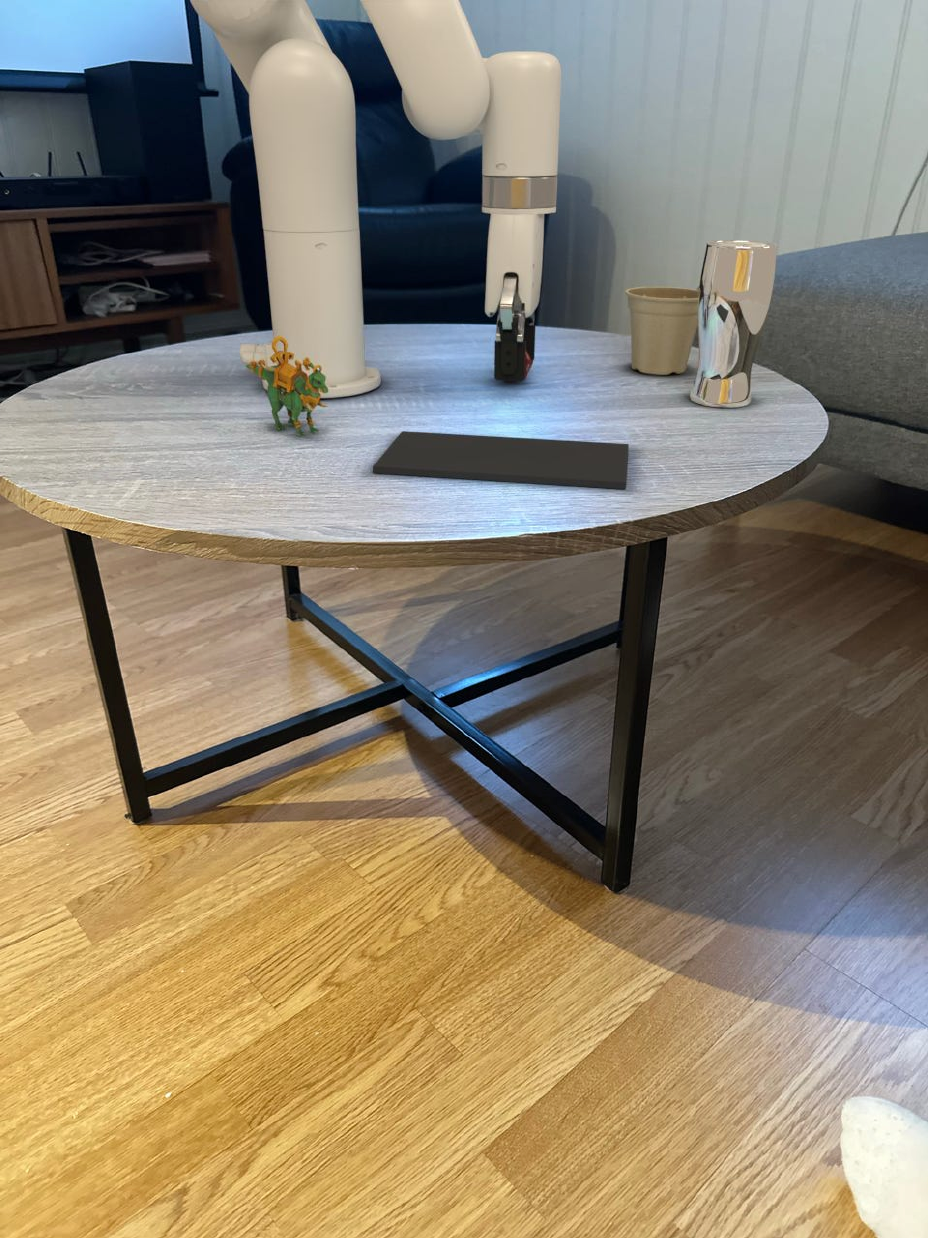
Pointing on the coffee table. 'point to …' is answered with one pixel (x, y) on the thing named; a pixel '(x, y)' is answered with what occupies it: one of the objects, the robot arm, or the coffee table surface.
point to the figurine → (291, 386)
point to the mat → (507, 459)
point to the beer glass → (731, 319)
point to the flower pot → (662, 328)
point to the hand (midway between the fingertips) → (514, 369)
